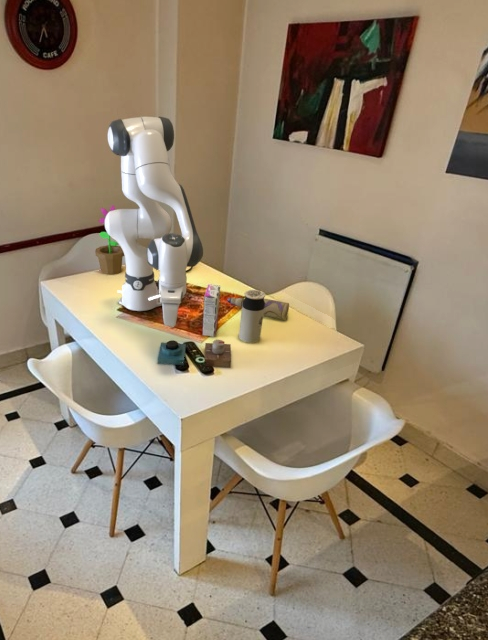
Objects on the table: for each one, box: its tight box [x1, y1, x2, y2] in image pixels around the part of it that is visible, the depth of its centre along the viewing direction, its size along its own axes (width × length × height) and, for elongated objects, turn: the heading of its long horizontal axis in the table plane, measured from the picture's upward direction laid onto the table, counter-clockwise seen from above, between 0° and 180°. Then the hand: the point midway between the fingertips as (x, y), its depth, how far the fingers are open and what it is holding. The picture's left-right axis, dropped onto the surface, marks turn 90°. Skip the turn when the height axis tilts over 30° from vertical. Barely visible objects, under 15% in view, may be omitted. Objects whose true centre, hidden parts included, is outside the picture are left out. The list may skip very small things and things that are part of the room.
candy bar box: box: [201, 284, 221, 338], centre depth 174 cm, size 11×5×16 cm, turn 168°
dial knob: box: [212, 339, 226, 354], centre depth 159 cm, size 4×4×4 cm
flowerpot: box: [94, 204, 125, 275], centre depth 219 cm, size 14×14×30 cm
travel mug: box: [238, 289, 266, 344], centre depth 169 cm, size 8×8×18 cm
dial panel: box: [203, 342, 232, 369], centre depth 161 cm, size 11×9×3 cm
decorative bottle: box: [226, 297, 290, 320], centre depth 190 cm, size 26×8×7 cm, turn 63°
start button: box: [166, 339, 179, 350], centre depth 160 cm, size 4×4×2 cm
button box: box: [157, 341, 187, 366], centre depth 162 cm, size 11×9×4 cm
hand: (172, 325), depth 156 cm, fingers closed
